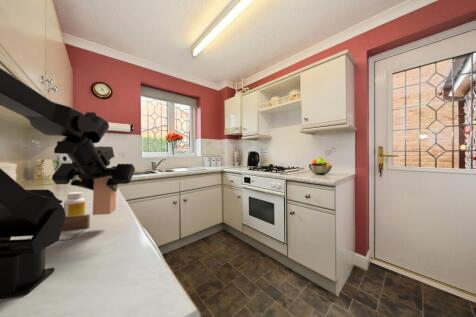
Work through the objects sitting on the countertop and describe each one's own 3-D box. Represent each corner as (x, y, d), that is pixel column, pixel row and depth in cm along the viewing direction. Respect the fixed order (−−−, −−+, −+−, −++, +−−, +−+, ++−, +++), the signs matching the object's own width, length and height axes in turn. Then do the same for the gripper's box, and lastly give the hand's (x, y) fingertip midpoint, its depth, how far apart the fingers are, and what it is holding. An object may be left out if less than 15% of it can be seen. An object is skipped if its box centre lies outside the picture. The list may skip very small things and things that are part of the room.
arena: (71, 239, 47) (71, 224, 47) (26, 243, 45) (27, 227, 45) (89, 227, 56) (89, 214, 56) (53, 229, 53) (53, 216, 53)
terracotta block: (109, 214, 53) (111, 171, 54) (92, 214, 52) (94, 171, 52) (115, 210, 58) (116, 170, 58) (99, 210, 56) (101, 170, 57)
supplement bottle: (88, 218, 64) (89, 191, 64) (73, 223, 59) (74, 194, 59) (75, 217, 65) (75, 191, 65) (59, 223, 59) (59, 194, 59)
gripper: (133, 137, 53) (145, 171, 64) (61, 134, 50) (87, 171, 61) (119, 163, 45) (136, 198, 56) (33, 163, 42) (68, 199, 53)
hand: (107, 190), depth 56 cm, fingers closed on terracotta block, 5 cm apart
